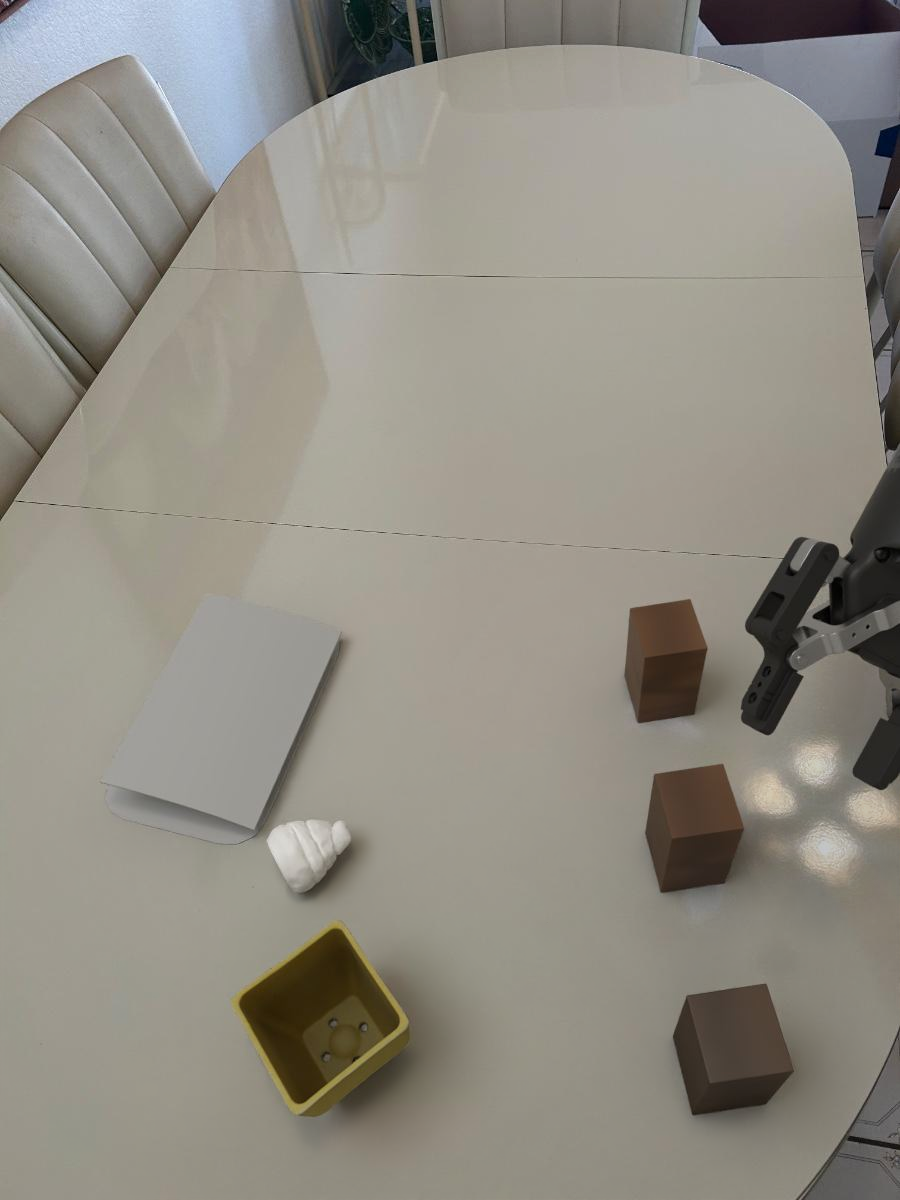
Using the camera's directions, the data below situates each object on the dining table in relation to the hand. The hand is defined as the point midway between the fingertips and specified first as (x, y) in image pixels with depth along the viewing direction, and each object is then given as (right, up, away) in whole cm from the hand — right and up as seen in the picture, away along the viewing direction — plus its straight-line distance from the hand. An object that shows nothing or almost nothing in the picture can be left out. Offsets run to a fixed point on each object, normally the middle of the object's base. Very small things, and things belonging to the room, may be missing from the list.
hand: (812, 756), depth 52 cm
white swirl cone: (-31, -13, +24) cm, 41 cm away
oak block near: (-2, -23, +12) cm, 26 cm away
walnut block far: (-2, 0, +30) cm, 30 cm away
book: (-40, -2, +34) cm, 53 cm away
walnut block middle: (-2, -11, +21) cm, 24 cm away
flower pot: (-28, -23, +15) cm, 39 cm away
